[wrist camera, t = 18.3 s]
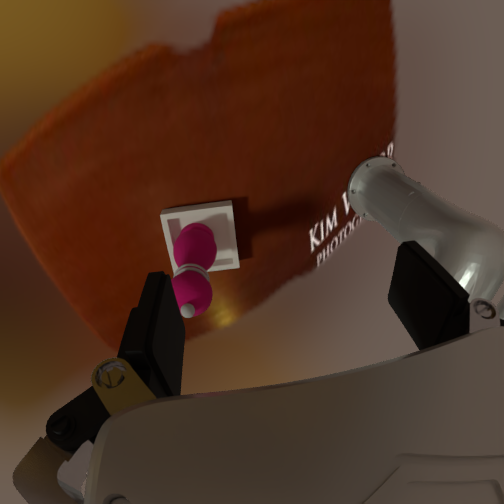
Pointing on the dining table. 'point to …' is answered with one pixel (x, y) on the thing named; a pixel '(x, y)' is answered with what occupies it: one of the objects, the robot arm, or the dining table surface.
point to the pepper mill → (193, 268)
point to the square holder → (210, 215)
